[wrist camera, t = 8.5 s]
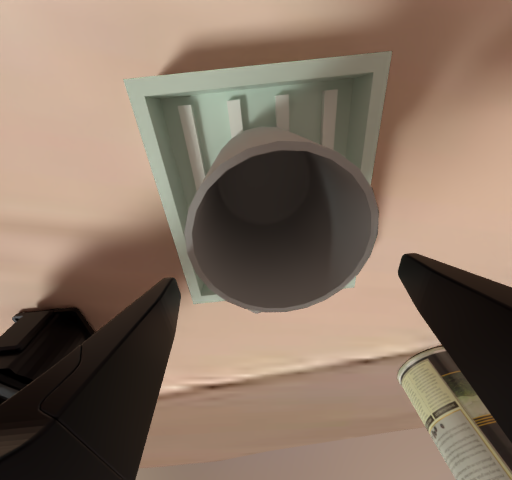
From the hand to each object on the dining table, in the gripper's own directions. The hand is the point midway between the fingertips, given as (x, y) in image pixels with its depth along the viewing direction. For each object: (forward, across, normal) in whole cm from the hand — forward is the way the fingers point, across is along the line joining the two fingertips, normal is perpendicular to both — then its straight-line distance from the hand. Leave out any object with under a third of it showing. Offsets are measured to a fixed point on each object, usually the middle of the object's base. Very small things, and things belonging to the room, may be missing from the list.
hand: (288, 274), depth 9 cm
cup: (+9, +1, 0) cm, 9 cm away
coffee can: (+11, -22, +28) cm, 37 cm away
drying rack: (+11, 0, 0) cm, 11 cm away
